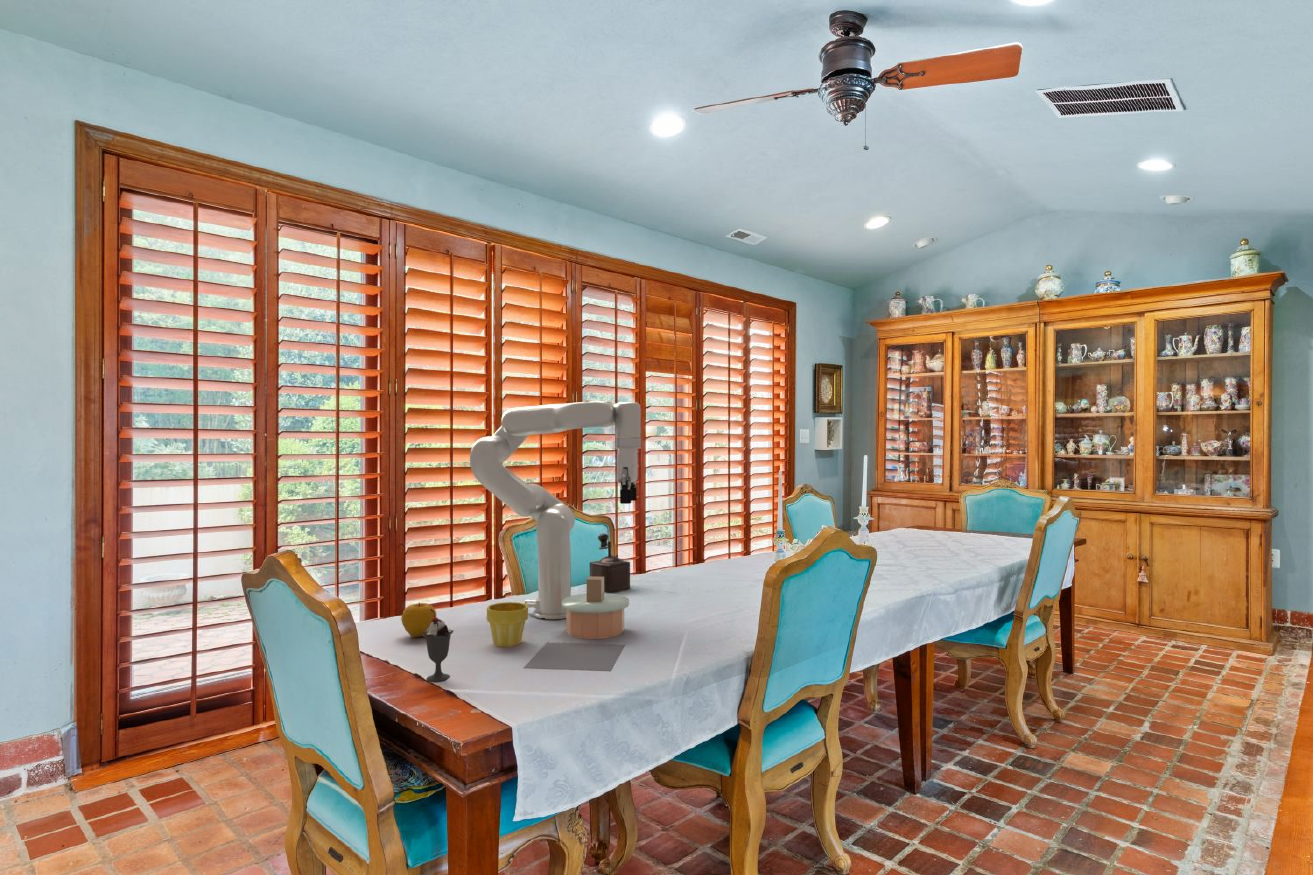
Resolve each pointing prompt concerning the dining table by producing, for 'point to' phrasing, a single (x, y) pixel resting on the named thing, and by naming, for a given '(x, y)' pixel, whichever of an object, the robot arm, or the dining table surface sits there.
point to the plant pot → (507, 622)
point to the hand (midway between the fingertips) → (628, 501)
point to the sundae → (437, 646)
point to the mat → (576, 656)
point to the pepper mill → (611, 569)
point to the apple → (417, 618)
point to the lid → (595, 599)
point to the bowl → (595, 624)
